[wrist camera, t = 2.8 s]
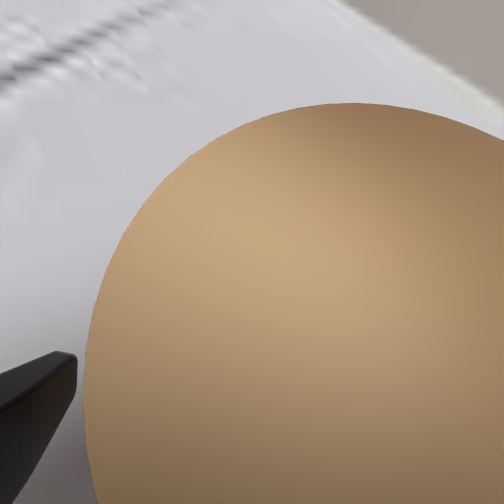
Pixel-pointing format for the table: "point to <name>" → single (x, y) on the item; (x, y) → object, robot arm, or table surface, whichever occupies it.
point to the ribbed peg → (308, 319)
